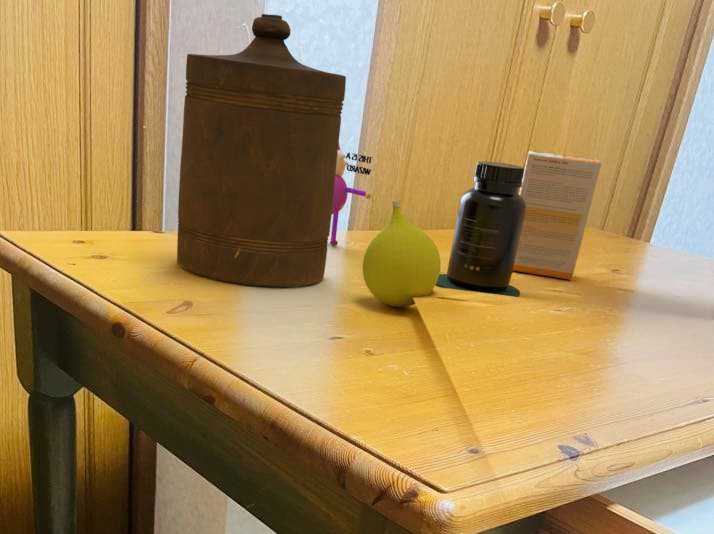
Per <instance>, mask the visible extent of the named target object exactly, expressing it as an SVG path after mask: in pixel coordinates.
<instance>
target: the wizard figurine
mask: <svg viewBox="0 0 714 534" xmlns="http://www.w3.org/2000/svg"><path fill="white" fill-rule="evenodd" d="M352 155H353V156H352V157H351V154H350V152H347V153H346V154H345V153H344V151H343V150H341V146H340V143H339V144H338V153H337V163H336V174H335V185H334V197H333V206H332V223H331V232H330V241H329V244H330V246H332V247H335V246H336V247H337V246H338V243H339V242H338V240H337V231H338V222H339V213H340V211H341V210H342V209H343V208H344V206H345V205H346V202H347V199H348V193H349V194H352V195H357V196H361V197H364V198H366V199H368V200H370V199H372V195H373V194H372V192H371V190H366V191H365V190H362V189H357V188H353V187H348V185H347V183H346V181H345V179H344V177H342V176H343V175H344V174H345V169H346V170H347V171H348V172H353V173H357V174H361V175H366V176H370V174H371V171H372V168H367V167H364V166H359V165H358V166H356V165H353V164H349V163H348V162H347V159H348V160H352V161H356V162H357V161H358V162H361V163H366V164H372V159H373V157H372V156H367V155H362V154H359V155H358V153H352ZM358 156H359V158H358Z"/></svg>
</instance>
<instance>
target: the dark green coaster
mask: <svg viewBox="0 0 714 534" xmlns="http://www.w3.org/2000/svg"><path fill="white" fill-rule="evenodd" d="M435 286H437V287H439V288H442V289H449V290H456V291H465V292H473V293H481V294H489V295H498V296H505V297H513V298H517V297H519V296H520V294H521V292H520V290H519V289H518V288H516V287H515V286H513V285H511V284H509V286H508V287H507V289H505V290H503V291H499V292H485V291H477V290H471V289H466V288H462V287H459V286H456V285H454V284H452V283H450V282H449V281H448V279H447V273H440V274H439V278H438V280H437V283H436V285H435Z"/></svg>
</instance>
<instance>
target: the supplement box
mask: <svg viewBox="0 0 714 534" xmlns="http://www.w3.org/2000/svg"><path fill="white" fill-rule="evenodd" d="M601 167H602V162H601V161H600V160H599V159H594V158H588V157H582V156H573V155H565V154H558V153H551V152H543V151H536V150H535V151H533V150H528V153H527V157H526V161H525V166H524V174H523V179H522V182H523V183H522V187H520V188H519V191H518V194H519V195H520V196H521V197H522V198H523V199H524V201H525V204H526V211H525V217H524V221H523V226H522V230H521V235H520V239H519V244H518V248H517V253H516V257H515V262H514V267H513V271H512V272H519V273H527V274H533V275H540V276H545V277H552V278H558V279H564V280H569V281H570V280H572V279H573V276H574V273H575V268H576V264H577V261H578V257H579V253H580V250H581V246H582V243H583V242H582V241H583V238H584V233H585V229H586V226H587V223H588V218H589V214H590V209H591V206H592V202H593V198H594V194H595V191H596V186H597V184H598V183H597V182H598V178H599V176H600V175H599V174H600V170H601Z"/></svg>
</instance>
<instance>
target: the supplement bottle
mask: <svg viewBox="0 0 714 534" xmlns="http://www.w3.org/2000/svg"><path fill="white" fill-rule="evenodd" d="M524 170H525V167H523V166H520V165H518V164H517V165H516V164H511V163H506V162H498V161H487V160H485V161H484V160H481V161H477V163H476V166H475V172H474V175H473V179H472V181H473V182H474V186H473V187H472V188H469V189H468V190H466V191H465V192H464V193H463V194H462V196H461V197H460V199H459V205H458V209H457V213H456V219H455V225H454V231H453V236H452V238H453V239H452V242H451V247H450V253H449V259H448V263H447V270H446V274H447V279H448V281H449V282H450V283H452V284H454V285H456V286H459V287H462V288H466V289H471V290H477V291H485V292H499V291H503V290H505V289H507V287H508V286H509V285H511V279H512V275H513V272H514V271H513V267H514V262H515V257H516V253H517V248H518V244H519V239H520V235H521V230H522V226H523V221H524V217H525V211H526V204H525V201H524V199H523V198H522V197H521V196H520V195H519V189H520V188H521V187H522V183H523V182H522V179H523V174H524Z"/></svg>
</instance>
